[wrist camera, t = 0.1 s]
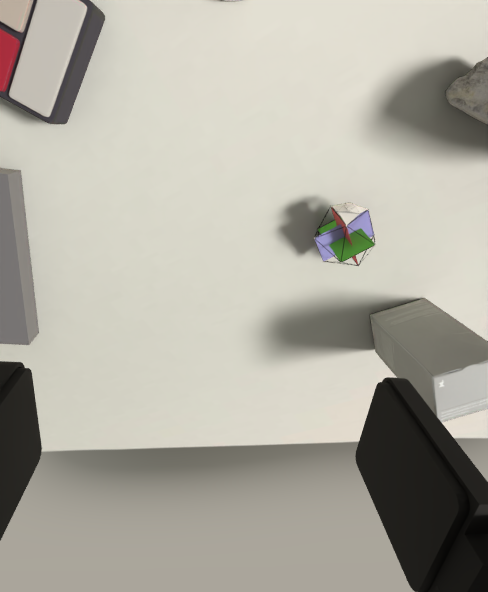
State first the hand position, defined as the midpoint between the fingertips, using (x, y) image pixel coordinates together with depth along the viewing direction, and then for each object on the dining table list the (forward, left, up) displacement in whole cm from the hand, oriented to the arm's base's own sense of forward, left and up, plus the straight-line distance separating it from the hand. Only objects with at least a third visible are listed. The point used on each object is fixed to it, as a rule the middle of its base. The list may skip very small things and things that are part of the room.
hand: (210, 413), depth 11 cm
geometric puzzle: (+3, +16, -37) cm, 40 cm away
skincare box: (+15, +28, -37) cm, 49 cm away
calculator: (-13, -20, -37) cm, 44 cm away
